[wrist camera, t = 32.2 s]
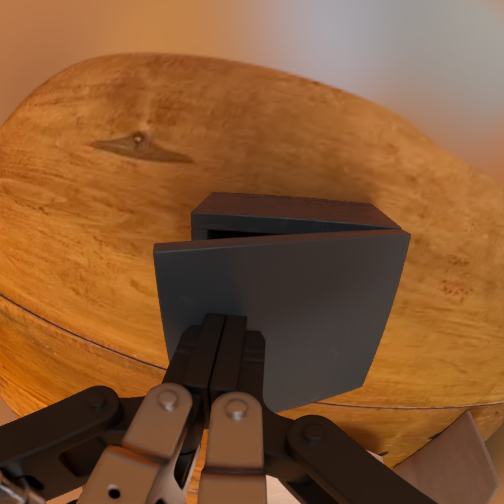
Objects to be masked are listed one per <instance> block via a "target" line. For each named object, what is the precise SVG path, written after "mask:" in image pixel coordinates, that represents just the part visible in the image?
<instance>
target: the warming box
mask: <svg viewBox="0 0 504 504" xmlns="http://www.w3.org/2000/svg"><path fill="white" fill-rule="evenodd" d="M191 228H192V229H191V238H192V241H197V240H211V239H226V238H241V237H257V236H273V235H289V234H307V233H325V232H344V231H364V230H386V229H402V228H401V227H400V226H398V225H397V224H396V223H395V222H394V221H393V220H391V219H390V218H389V217H388V216H386V215H385V214H384V213H383V212H381V211H380V210H379V209H378V208H376V207H375V206H374V205H372V204H366V203H357V202H347V201H337V200H327V199H315V198H303V197H290V196H276V195H259V194H240V193H215V192H213V193H211V194H210V195H209V196H208V197H207V198H206V199H205V200H204V201H202V202H201V203H200V204H199V205H198V206H197V207H196V208H195V209H194V210H193V211H192V212H191Z"/></svg>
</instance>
